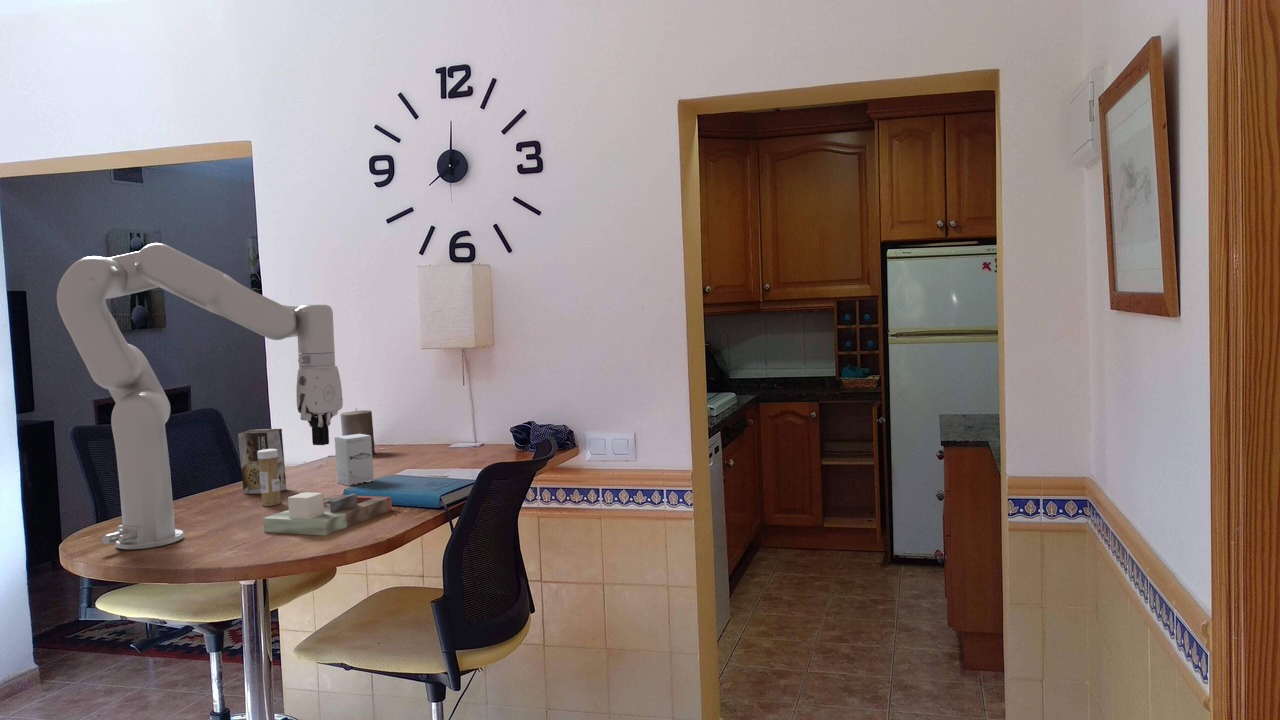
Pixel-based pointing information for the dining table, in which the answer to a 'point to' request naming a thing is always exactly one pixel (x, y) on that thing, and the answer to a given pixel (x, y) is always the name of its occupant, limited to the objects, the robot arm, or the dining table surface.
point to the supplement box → (354, 459)
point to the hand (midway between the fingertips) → (320, 444)
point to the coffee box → (249, 459)
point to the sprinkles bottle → (269, 477)
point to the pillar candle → (358, 424)
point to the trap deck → (330, 515)
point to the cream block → (306, 505)
